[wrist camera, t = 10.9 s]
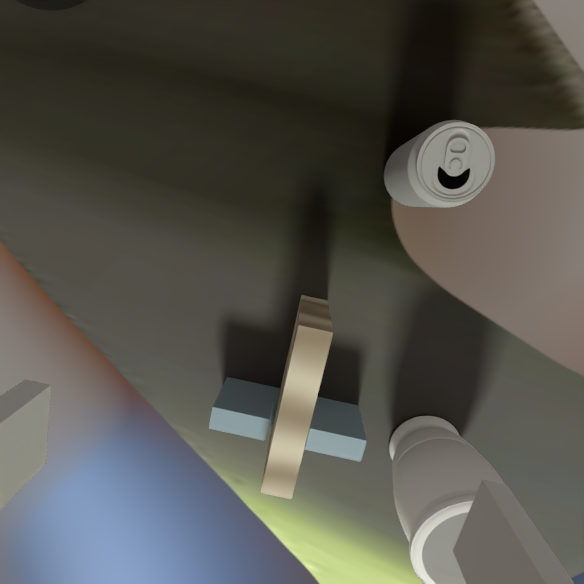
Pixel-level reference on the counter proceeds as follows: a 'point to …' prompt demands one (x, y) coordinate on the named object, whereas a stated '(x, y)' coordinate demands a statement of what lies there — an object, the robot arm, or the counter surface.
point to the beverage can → (441, 166)
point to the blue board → (262, 409)
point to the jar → (435, 492)
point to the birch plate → (297, 396)
